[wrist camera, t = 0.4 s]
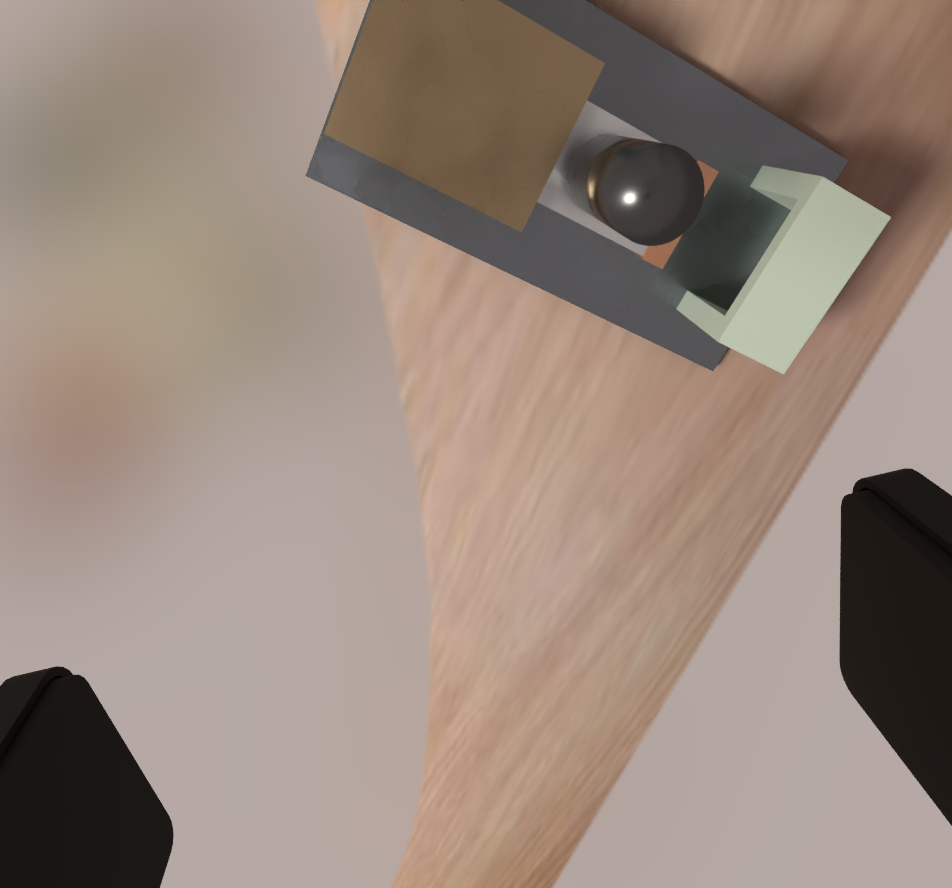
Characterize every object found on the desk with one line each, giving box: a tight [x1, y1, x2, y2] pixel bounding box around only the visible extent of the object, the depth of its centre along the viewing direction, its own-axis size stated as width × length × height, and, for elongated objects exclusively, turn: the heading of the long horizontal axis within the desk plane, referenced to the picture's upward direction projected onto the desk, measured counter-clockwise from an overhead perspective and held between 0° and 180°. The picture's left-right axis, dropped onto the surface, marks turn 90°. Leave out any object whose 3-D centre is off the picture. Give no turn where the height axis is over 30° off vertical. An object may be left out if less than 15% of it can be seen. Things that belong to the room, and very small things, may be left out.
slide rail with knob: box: [306, 0, 849, 371], centre depth 30 cm, size 11×22×6 cm, turn 64°
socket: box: [677, 165, 891, 374], centre depth 31 cm, size 7×4×5 cm, turn 154°
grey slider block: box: [537, 101, 719, 269], centre depth 26 cm, size 4×14×10 cm, turn 64°
